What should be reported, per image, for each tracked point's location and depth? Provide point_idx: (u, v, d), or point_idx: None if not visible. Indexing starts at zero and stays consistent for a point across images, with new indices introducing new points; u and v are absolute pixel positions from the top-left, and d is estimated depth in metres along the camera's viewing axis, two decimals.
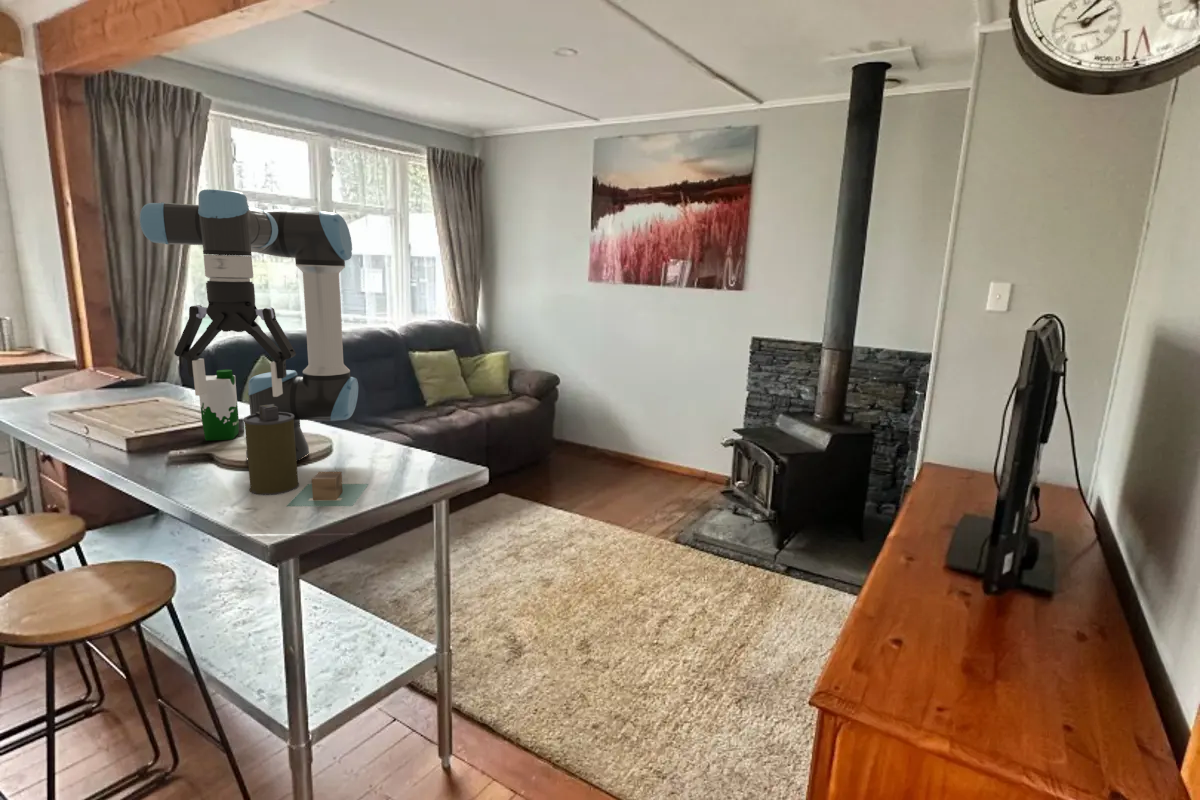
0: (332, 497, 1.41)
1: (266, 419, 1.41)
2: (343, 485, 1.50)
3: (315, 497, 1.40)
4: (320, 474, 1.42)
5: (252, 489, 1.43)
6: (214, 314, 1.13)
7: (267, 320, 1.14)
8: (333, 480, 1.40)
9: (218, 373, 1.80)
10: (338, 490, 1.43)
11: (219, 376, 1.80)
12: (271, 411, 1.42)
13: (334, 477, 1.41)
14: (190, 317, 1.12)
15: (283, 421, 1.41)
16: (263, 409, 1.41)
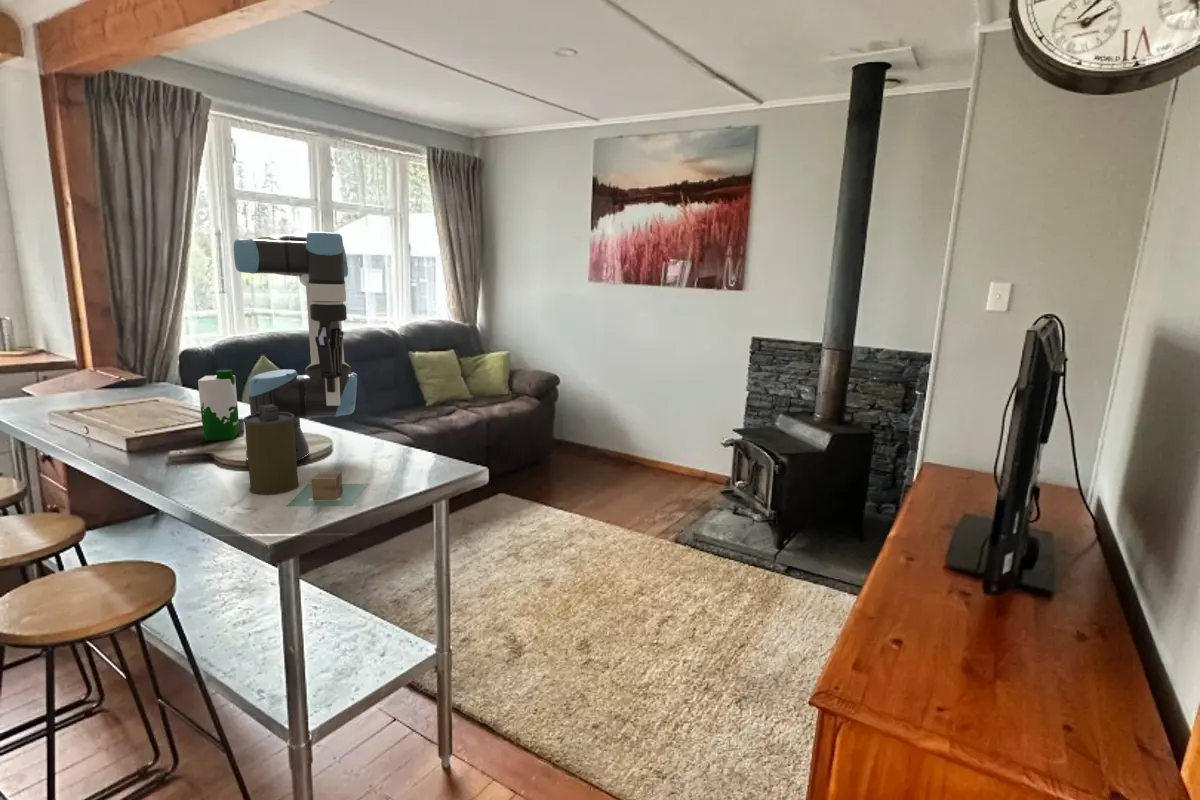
0: (332, 497, 1.41)
1: (266, 419, 1.41)
2: (343, 485, 1.50)
3: (315, 497, 1.40)
4: (320, 474, 1.42)
5: (252, 489, 1.43)
6: None
7: None
8: (333, 480, 1.40)
9: (218, 373, 1.80)
10: (338, 490, 1.43)
11: (219, 376, 1.80)
12: (271, 411, 1.42)
13: (334, 477, 1.41)
14: None
15: (283, 421, 1.41)
16: (263, 409, 1.41)
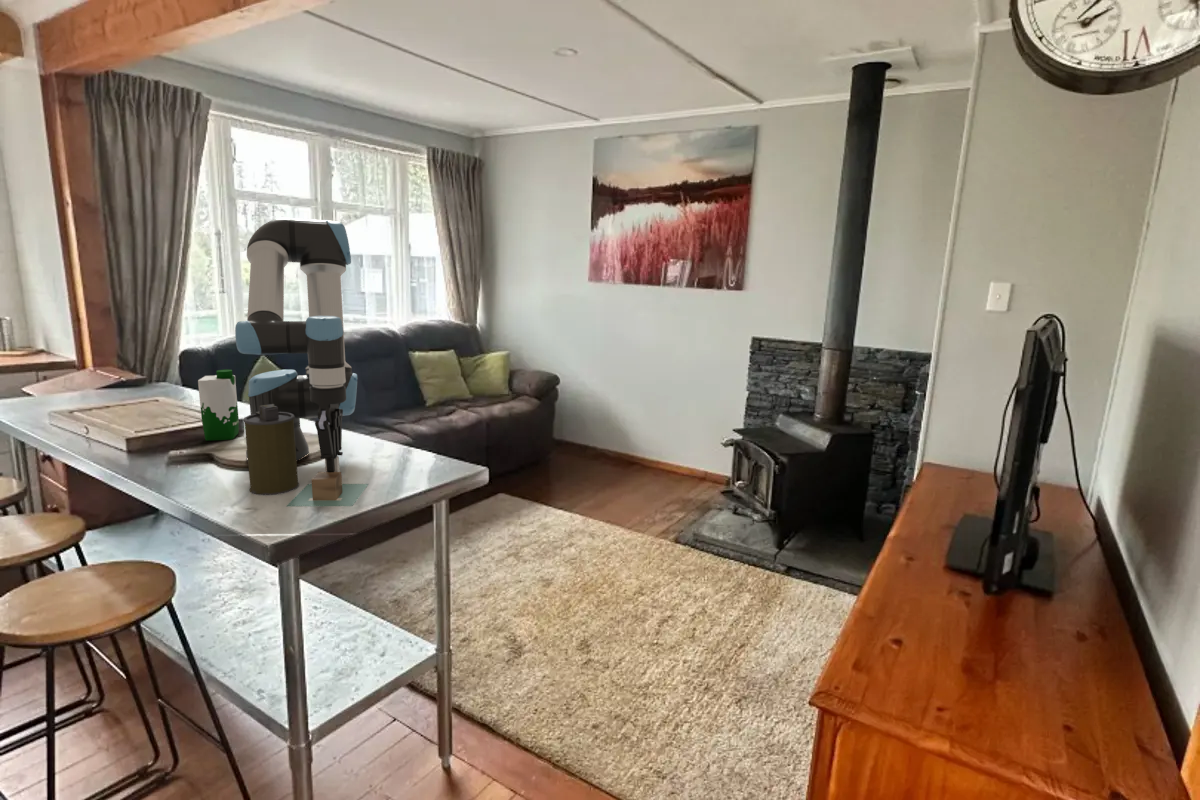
0: (332, 497, 1.40)
1: (266, 419, 1.41)
2: (343, 485, 1.50)
3: (315, 497, 1.40)
4: (320, 474, 1.42)
5: (252, 489, 1.43)
6: None
7: None
8: (333, 480, 1.40)
9: (218, 373, 1.80)
10: (338, 490, 1.43)
11: (219, 376, 1.80)
12: (271, 411, 1.42)
13: (334, 477, 1.41)
14: None
15: (283, 421, 1.41)
16: (263, 409, 1.41)
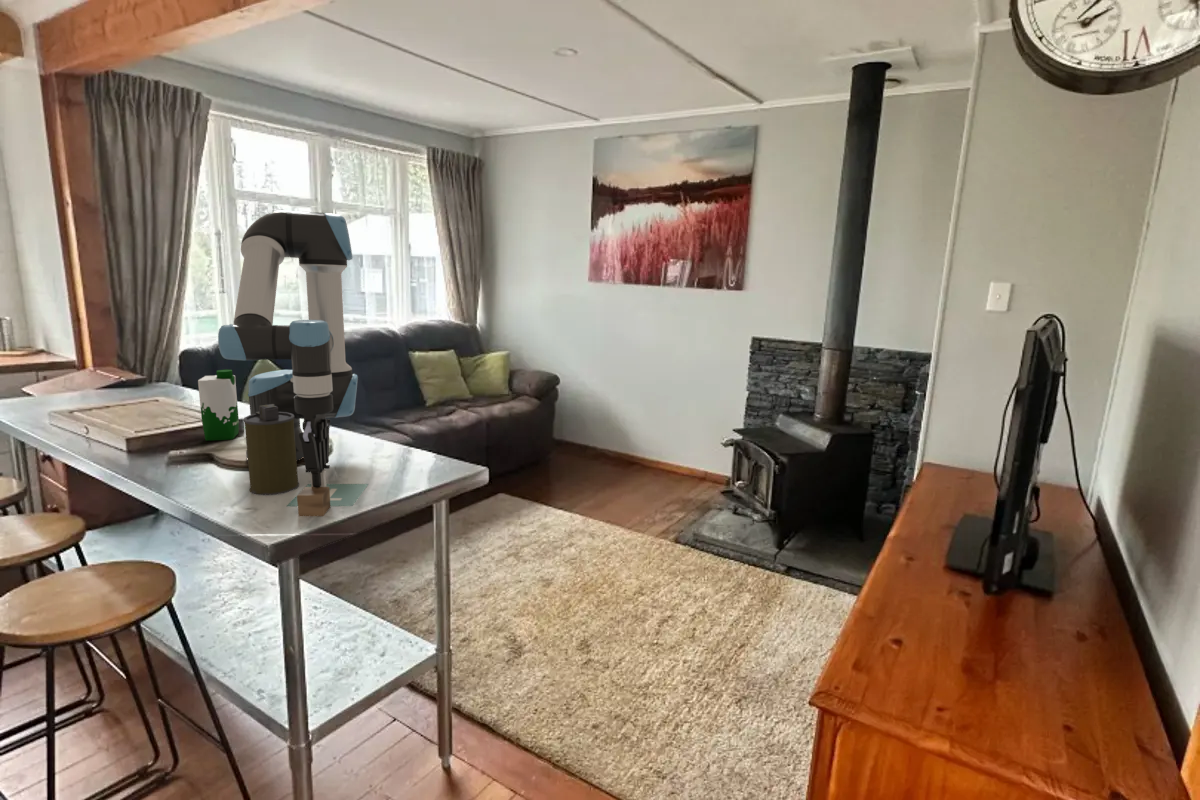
0: (319, 514, 1.32)
1: (266, 419, 1.41)
2: (343, 485, 1.50)
3: (301, 514, 1.32)
4: (306, 490, 1.34)
5: (252, 489, 1.43)
6: None
7: None
8: (320, 496, 1.31)
9: (218, 373, 1.80)
10: (326, 506, 1.34)
11: (219, 376, 1.80)
12: (271, 411, 1.42)
13: (321, 493, 1.32)
14: None
15: (283, 421, 1.41)
16: (263, 409, 1.41)
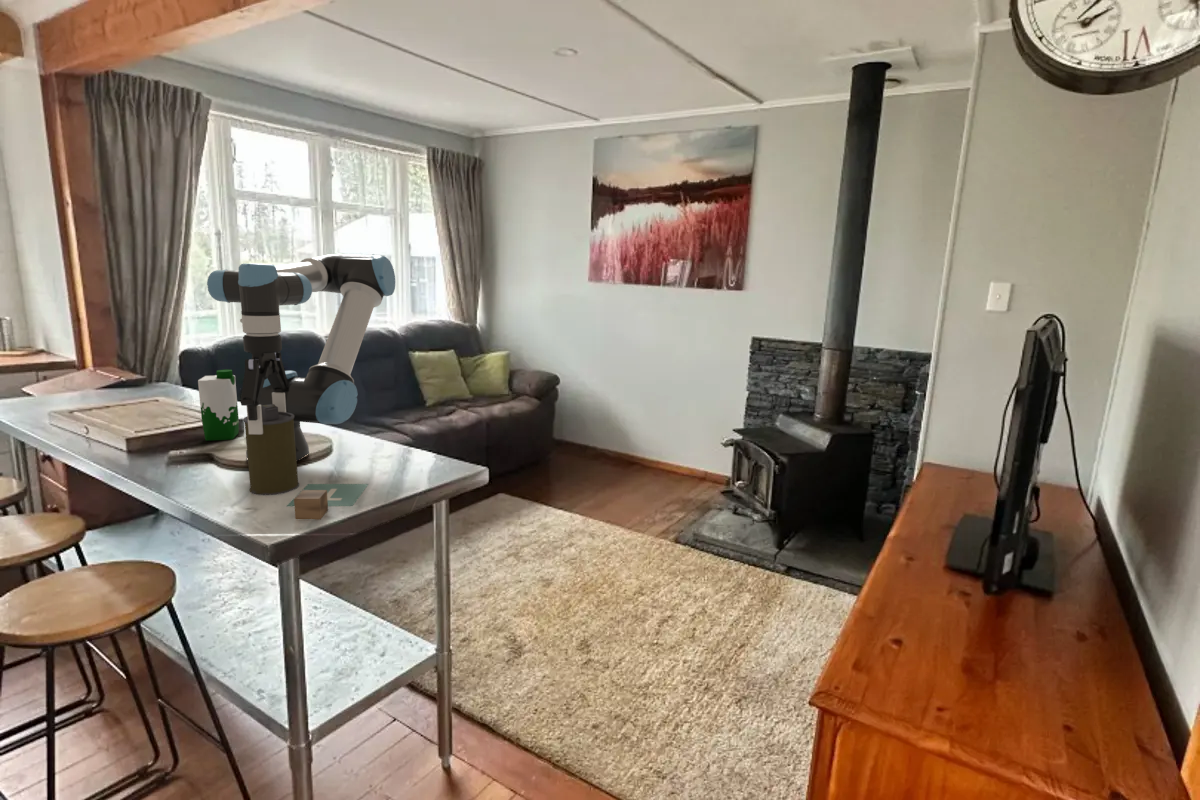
0: (316, 518, 1.30)
1: (266, 419, 1.41)
2: (343, 485, 1.50)
3: (298, 518, 1.30)
4: (303, 493, 1.32)
5: (252, 489, 1.43)
6: None
7: None
8: (317, 500, 1.29)
9: (218, 373, 1.80)
10: (323, 510, 1.32)
11: (219, 376, 1.80)
12: (271, 411, 1.42)
13: (318, 496, 1.30)
14: None
15: (283, 421, 1.41)
16: (263, 409, 1.41)
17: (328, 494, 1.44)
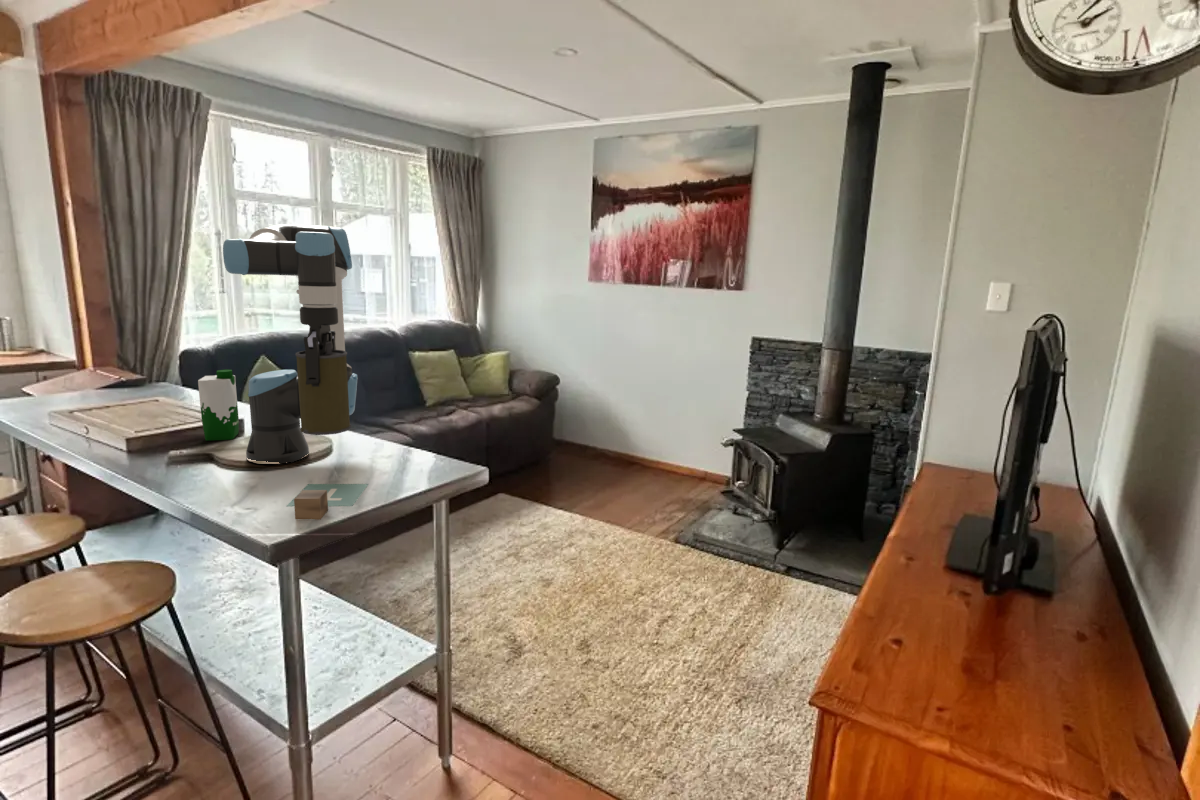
0: (316, 518, 1.30)
1: None
2: (343, 485, 1.50)
3: (298, 518, 1.30)
4: (303, 493, 1.32)
5: (304, 428, 1.36)
6: None
7: None
8: (317, 500, 1.29)
9: (218, 373, 1.80)
10: (323, 510, 1.32)
11: (219, 376, 1.80)
12: None
13: (318, 496, 1.30)
14: None
15: (337, 356, 1.34)
16: None
17: (328, 494, 1.44)
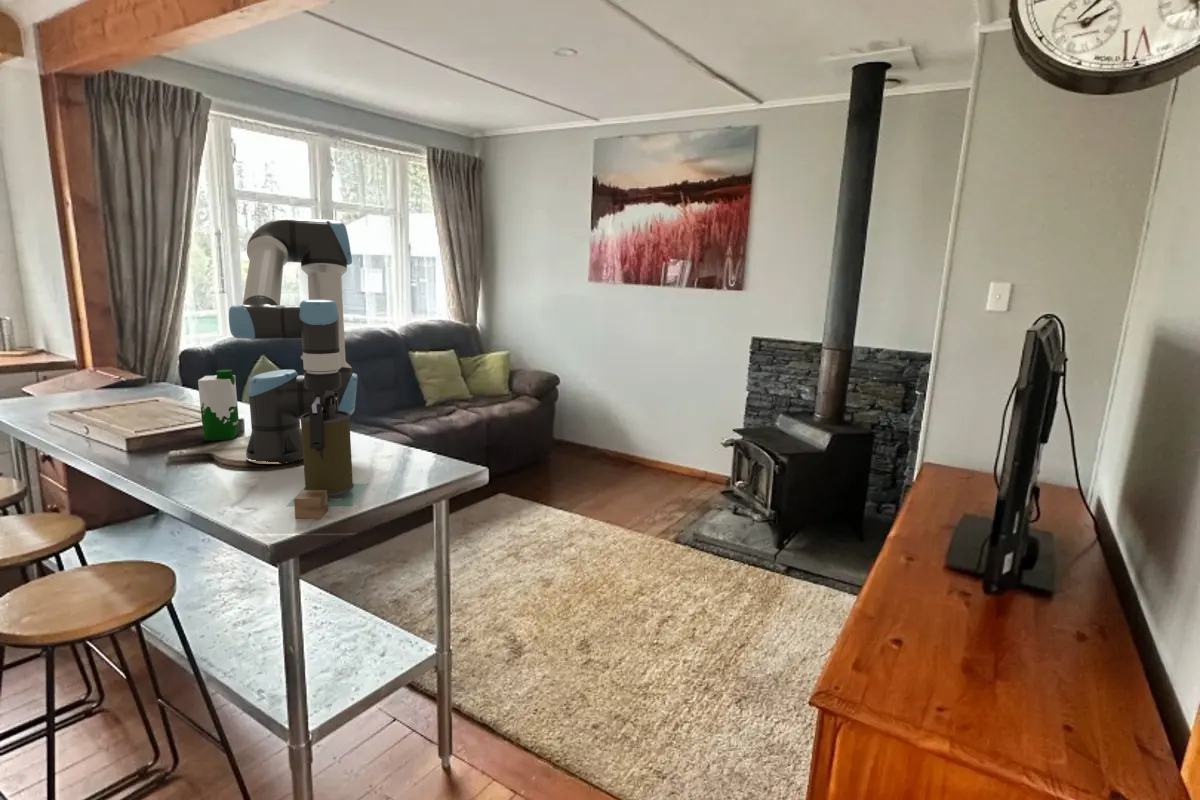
0: (316, 518, 1.30)
1: None
2: None
3: (298, 518, 1.30)
4: (303, 493, 1.32)
5: (308, 489, 1.40)
6: None
7: None
8: (317, 500, 1.29)
9: (218, 373, 1.80)
10: (323, 510, 1.32)
11: (219, 376, 1.80)
12: None
13: (318, 496, 1.30)
14: None
15: (340, 420, 1.38)
16: None
17: None
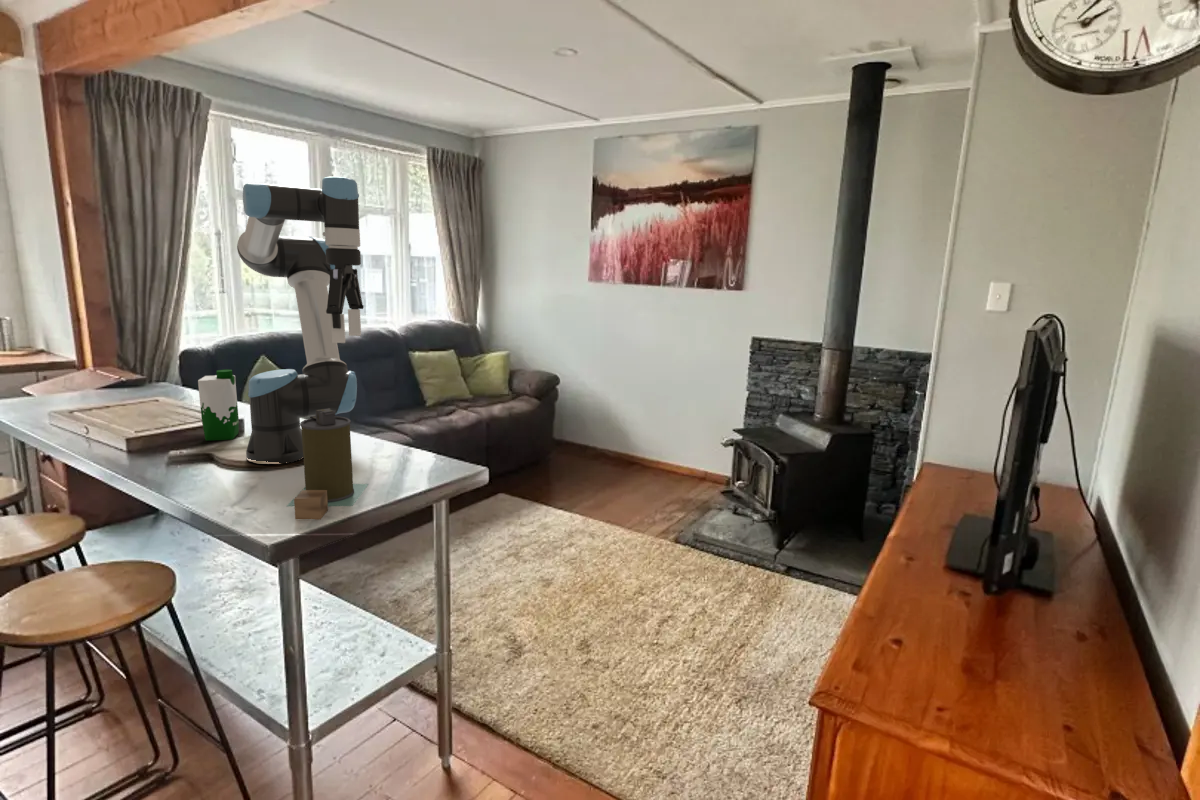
0: (316, 518, 1.30)
1: (323, 424, 1.38)
2: None
3: (298, 518, 1.30)
4: (303, 493, 1.32)
5: None
6: None
7: None
8: (317, 500, 1.29)
9: (218, 373, 1.80)
10: (323, 510, 1.32)
11: (219, 376, 1.80)
12: (328, 416, 1.39)
13: (318, 496, 1.30)
14: None
15: (341, 426, 1.38)
16: (320, 413, 1.38)
17: None
